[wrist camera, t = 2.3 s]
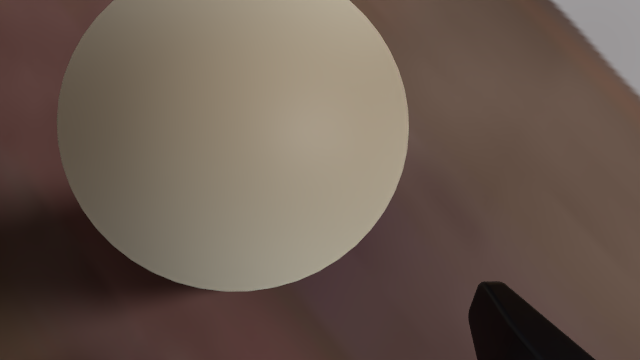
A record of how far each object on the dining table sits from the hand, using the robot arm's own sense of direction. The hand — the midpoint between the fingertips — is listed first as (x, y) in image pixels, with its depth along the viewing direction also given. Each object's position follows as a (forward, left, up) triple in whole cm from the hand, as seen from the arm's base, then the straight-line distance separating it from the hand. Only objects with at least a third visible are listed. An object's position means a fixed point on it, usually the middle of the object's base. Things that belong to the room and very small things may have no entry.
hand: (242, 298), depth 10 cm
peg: (+2, -1, -10) cm, 10 cm away
